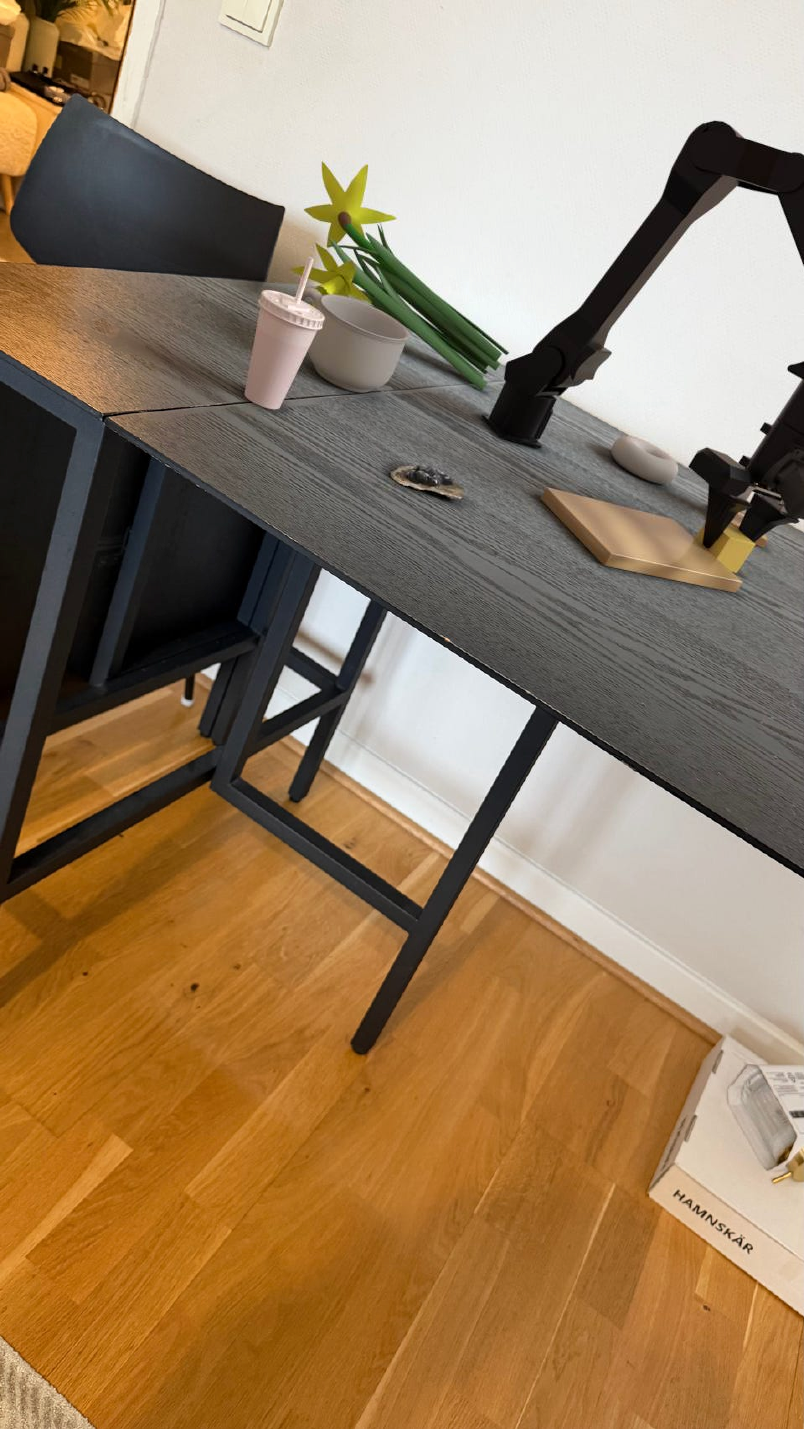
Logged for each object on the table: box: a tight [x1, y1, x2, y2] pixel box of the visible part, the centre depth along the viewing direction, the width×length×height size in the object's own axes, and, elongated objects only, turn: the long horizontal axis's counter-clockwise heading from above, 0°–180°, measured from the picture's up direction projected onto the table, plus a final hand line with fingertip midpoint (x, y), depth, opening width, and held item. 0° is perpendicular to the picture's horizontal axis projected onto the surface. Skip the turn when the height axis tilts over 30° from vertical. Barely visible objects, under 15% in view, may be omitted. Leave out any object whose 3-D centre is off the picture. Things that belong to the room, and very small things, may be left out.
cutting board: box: [540, 486, 743, 594], centre depth 106 cm, size 20×14×2 cm
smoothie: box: [244, 256, 325, 410], centre depth 91 cm, size 6×6×14 cm
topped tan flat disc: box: [390, 464, 466, 501], centre depth 93 cm, size 7×8×2 cm
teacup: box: [301, 287, 410, 394], centre depth 110 cm, size 14×11×8 cm
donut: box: [611, 435, 679, 485], centre depth 134 cm, size 10×4×10 cm
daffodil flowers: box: [289, 161, 510, 392], centre depth 132 cm, size 17×15×35 cm
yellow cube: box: [694, 522, 757, 574], centre depth 113 cm, size 4×4×4 cm
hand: (719, 550), depth 113 cm, fingers closed on yellow cube, 4 cm apart
